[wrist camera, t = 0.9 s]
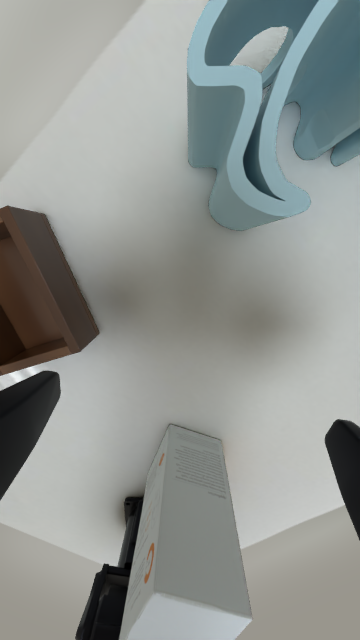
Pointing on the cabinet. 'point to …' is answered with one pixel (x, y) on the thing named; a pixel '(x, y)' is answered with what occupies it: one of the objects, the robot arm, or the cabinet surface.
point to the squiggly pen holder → (270, 101)
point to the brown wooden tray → (37, 295)
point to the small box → (187, 548)
